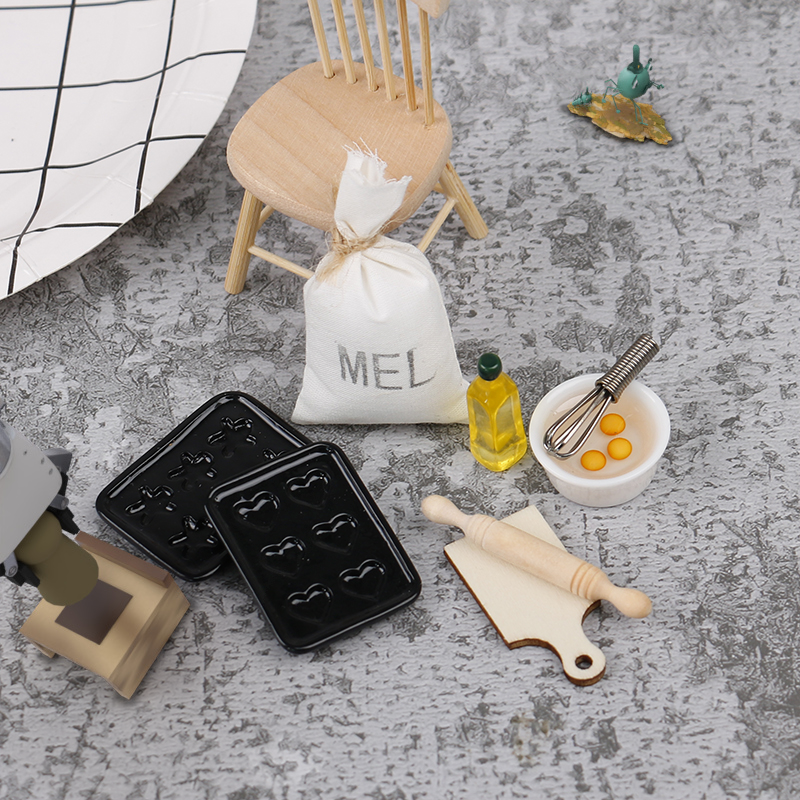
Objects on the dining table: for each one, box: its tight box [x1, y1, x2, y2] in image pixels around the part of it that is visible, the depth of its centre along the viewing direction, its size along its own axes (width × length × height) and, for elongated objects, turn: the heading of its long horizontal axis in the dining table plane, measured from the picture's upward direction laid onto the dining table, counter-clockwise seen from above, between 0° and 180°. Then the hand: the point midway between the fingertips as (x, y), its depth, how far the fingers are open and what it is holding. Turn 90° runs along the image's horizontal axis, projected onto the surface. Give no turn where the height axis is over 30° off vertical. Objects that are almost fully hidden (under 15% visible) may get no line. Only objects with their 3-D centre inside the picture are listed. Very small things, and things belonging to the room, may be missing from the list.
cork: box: [13, 510, 99, 606], centre depth 89 cm, size 6×6×11 cm
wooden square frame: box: [18, 529, 191, 700], centre depth 103 cm, size 12×12×9 cm
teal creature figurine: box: [567, 43, 673, 145], centre depth 144 cm, size 10×18×15 cm, turn 49°
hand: (46, 552), depth 89 cm, fingers closed on cork, 5 cm apart
